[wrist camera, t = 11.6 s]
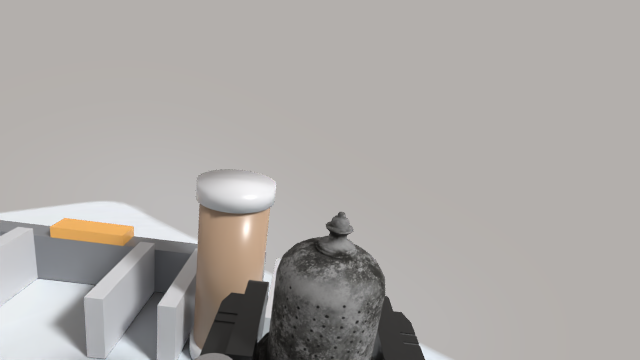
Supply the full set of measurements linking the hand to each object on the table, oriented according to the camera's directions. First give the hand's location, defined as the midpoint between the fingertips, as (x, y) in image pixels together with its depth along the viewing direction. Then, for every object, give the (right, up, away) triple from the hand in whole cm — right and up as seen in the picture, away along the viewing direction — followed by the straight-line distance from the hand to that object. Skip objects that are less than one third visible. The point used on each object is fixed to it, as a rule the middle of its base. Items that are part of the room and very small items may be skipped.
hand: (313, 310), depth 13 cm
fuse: (-6, -6, +10) cm, 13 cm away
